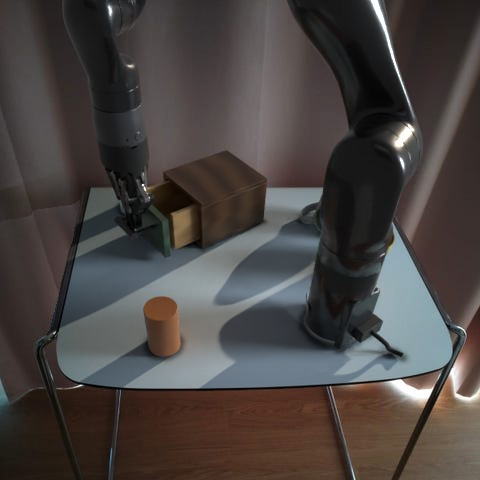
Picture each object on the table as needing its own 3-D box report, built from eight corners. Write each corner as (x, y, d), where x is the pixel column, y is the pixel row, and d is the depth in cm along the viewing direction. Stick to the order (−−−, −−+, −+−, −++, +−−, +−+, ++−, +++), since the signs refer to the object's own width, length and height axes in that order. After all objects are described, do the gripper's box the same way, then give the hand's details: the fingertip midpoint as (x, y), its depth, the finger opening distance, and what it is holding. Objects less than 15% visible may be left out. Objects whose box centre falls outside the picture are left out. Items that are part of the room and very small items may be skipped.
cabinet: (202, 248, 91) (201, 204, 84) (166, 215, 98) (162, 171, 91) (263, 221, 97) (267, 178, 90) (226, 192, 104) (226, 149, 97)
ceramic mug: (354, 216, 100) (362, 182, 94) (350, 240, 94) (357, 206, 89) (302, 207, 101) (307, 173, 96) (295, 230, 96) (299, 196, 90)
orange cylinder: (186, 347, 75) (184, 310, 69) (159, 362, 73) (154, 325, 67) (169, 328, 78) (166, 291, 72) (142, 341, 75) (136, 305, 70)
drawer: (142, 268, 85) (136, 231, 80) (111, 234, 91) (104, 198, 86) (226, 231, 93) (227, 196, 88) (193, 203, 99) (191, 168, 94)
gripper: (78, 121, 76) (98, 215, 88) (119, 158, 69) (134, 254, 82) (123, 109, 79) (135, 201, 92) (166, 143, 72) (173, 238, 85)
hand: (135, 226), depth 87 cm, fingers closed
